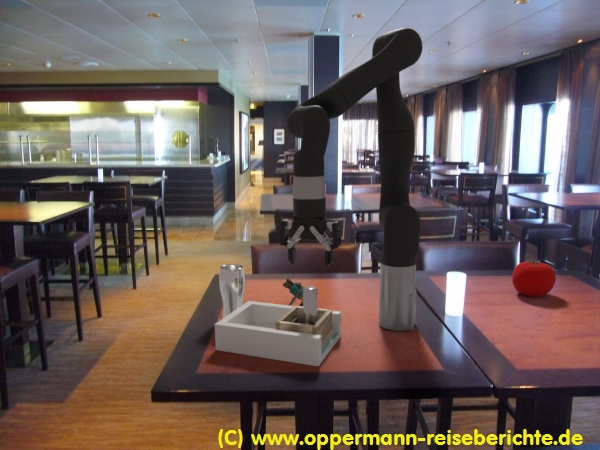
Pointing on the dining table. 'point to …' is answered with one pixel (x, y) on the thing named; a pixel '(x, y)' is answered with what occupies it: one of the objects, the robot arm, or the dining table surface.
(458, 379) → the dining table surface
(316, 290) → the handle peg
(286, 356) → the bay
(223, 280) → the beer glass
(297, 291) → the binoculars
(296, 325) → the box
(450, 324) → the dining table surface
